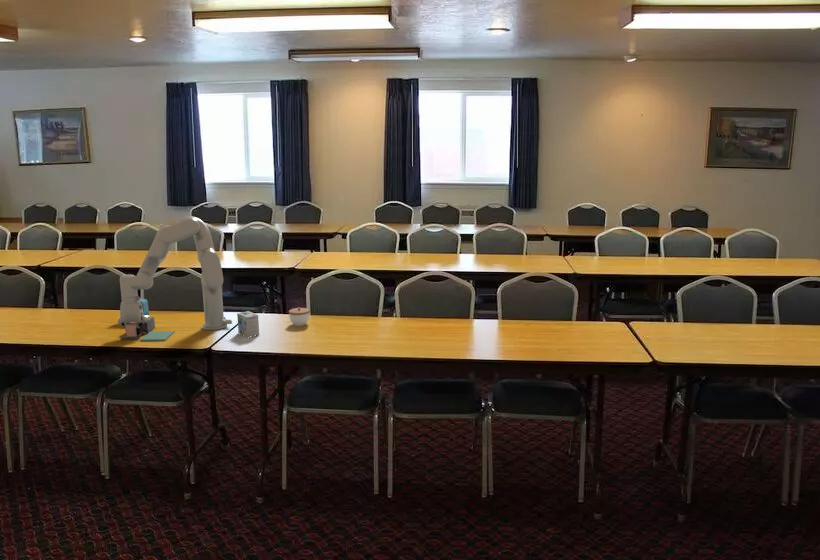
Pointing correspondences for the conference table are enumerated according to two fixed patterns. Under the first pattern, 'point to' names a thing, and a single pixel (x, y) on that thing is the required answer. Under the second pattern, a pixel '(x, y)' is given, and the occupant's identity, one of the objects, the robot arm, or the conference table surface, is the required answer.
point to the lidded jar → (299, 316)
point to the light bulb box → (248, 324)
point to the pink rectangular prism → (131, 329)
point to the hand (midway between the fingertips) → (133, 334)
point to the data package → (145, 307)
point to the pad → (157, 336)
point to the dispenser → (143, 328)
